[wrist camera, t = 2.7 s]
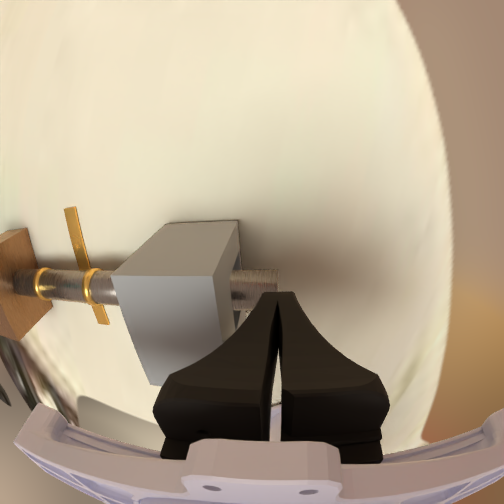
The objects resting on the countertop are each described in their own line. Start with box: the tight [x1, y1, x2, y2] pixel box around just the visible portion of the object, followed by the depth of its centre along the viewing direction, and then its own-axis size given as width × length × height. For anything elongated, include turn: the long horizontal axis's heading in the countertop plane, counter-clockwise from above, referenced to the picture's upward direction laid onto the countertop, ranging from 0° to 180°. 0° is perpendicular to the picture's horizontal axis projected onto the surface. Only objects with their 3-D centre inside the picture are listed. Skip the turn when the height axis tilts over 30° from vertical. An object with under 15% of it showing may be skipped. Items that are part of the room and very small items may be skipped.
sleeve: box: [110, 221, 246, 386], centre depth 13 cm, size 4×6×6 cm, turn 4°
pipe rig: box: [0, 207, 278, 341], centre depth 15 cm, size 22×9×5 cm, turn 94°
